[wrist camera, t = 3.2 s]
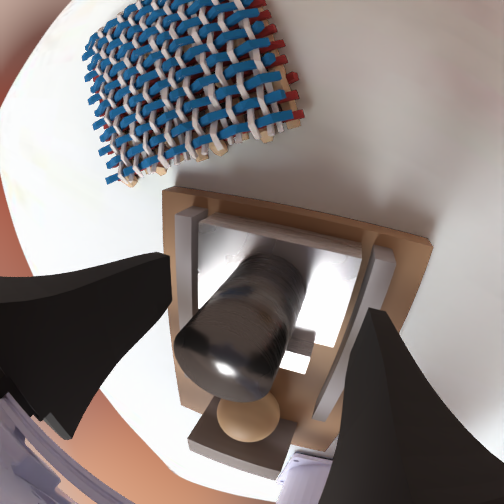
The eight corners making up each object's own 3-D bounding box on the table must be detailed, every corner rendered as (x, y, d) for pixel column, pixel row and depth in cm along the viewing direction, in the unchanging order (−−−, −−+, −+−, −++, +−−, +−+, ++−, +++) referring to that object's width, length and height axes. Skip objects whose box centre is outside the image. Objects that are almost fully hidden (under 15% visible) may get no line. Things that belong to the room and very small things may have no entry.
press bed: (327, 441, 17) (312, 495, 13) (186, 396, 21) (156, 439, 16) (427, 238, 10) (464, 301, 6) (174, 186, 13) (98, 214, 9)
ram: (331, 341, 12) (305, 449, 7) (213, 308, 14) (145, 388, 9) (361, 243, 10) (360, 345, 5) (216, 211, 12) (118, 271, 7)
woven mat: (316, 133, 11) (310, 131, 9) (132, 188, 15) (107, 196, 13) (253, -42, 8) (237, -61, 6) (101, 43, 12) (77, 39, 10)
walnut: (281, 414, 16) (264, 458, 13) (230, 397, 17) (207, 438, 14) (292, 382, 14) (273, 433, 11) (232, 364, 15) (205, 409, 12)
